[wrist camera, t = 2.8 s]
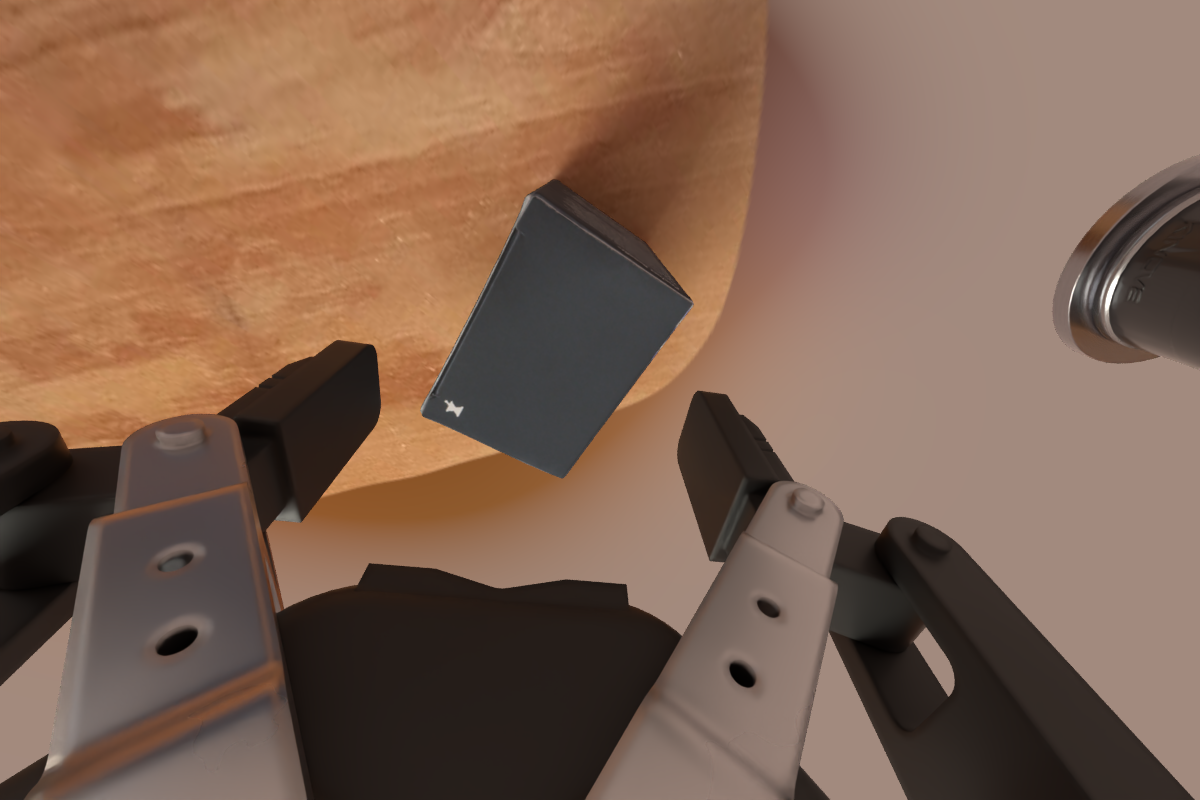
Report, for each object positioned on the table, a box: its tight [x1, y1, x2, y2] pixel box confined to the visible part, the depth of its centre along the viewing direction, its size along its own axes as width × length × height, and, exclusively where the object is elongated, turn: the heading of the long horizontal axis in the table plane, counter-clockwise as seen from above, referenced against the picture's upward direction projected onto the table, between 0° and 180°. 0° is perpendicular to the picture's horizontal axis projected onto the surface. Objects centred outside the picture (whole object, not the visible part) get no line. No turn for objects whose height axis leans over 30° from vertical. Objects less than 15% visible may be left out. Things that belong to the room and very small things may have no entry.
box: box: [420, 180, 694, 478], centre depth 18 cm, size 8×6×11 cm
